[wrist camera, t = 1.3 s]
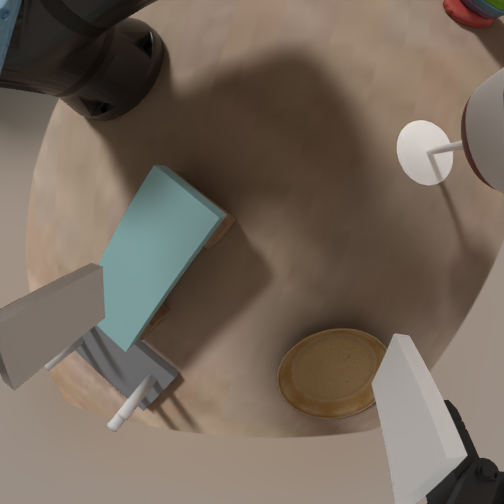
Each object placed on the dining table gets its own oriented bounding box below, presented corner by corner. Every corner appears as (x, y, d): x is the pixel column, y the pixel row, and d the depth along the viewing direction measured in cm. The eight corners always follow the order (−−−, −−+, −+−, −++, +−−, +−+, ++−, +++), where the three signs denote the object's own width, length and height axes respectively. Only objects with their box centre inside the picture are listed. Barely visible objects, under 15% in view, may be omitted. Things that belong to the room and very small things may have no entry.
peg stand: (71, 336, 42) (33, 364, 32) (89, 292, 39) (43, 319, 29) (147, 405, 43) (119, 445, 33) (179, 372, 39) (147, 418, 29)
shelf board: (135, 342, 33) (125, 352, 31) (91, 300, 33) (79, 307, 31) (227, 214, 27) (219, 218, 25) (166, 165, 27) (154, 164, 25)
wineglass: (459, 131, 25) (579, 103, 6) (445, 200, 27) (571, 229, 8) (402, 105, 26) (500, 31, 7) (387, 176, 28) (495, 174, 9)
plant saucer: (306, 301, 34) (306, 310, 31) (408, 339, 32) (414, 349, 30) (262, 389, 38) (259, 400, 35) (353, 416, 36) (355, 428, 34)
